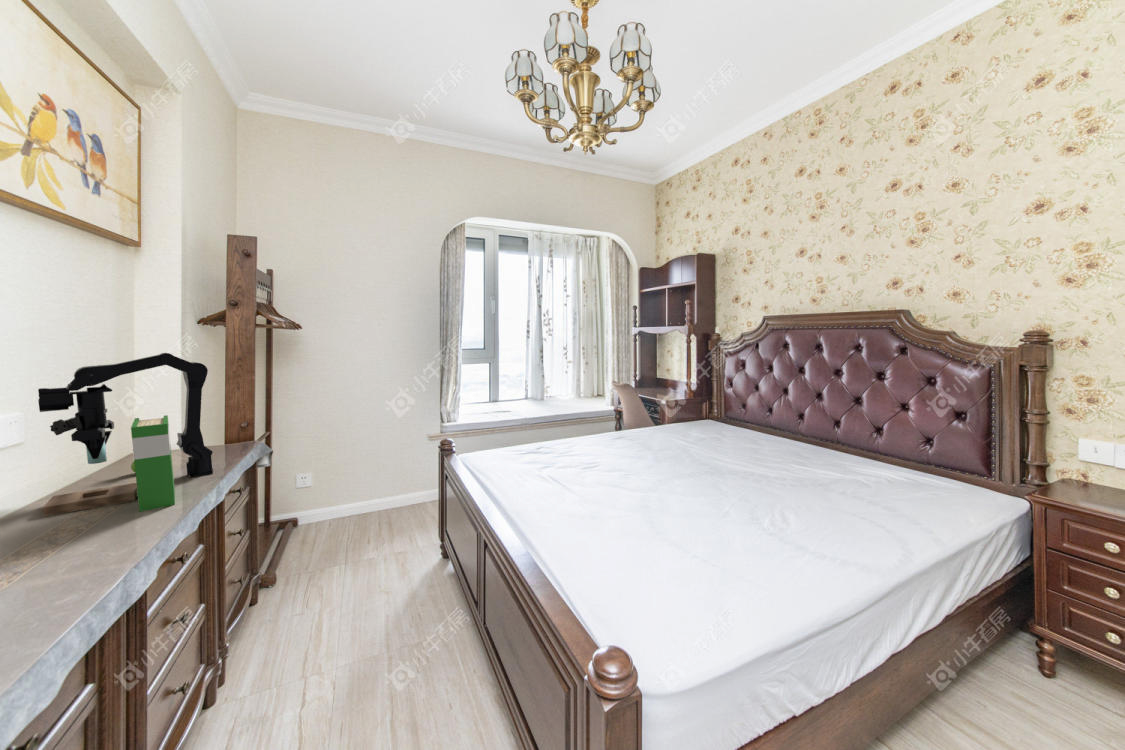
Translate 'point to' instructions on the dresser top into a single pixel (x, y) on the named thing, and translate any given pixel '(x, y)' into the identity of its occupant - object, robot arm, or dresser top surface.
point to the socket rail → (90, 499)
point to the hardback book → (153, 463)
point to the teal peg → (100, 459)
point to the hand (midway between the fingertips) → (97, 457)
